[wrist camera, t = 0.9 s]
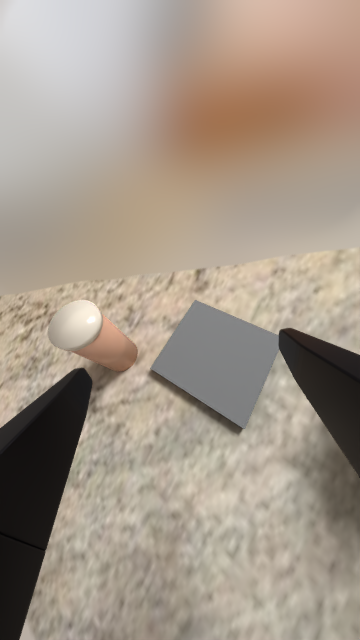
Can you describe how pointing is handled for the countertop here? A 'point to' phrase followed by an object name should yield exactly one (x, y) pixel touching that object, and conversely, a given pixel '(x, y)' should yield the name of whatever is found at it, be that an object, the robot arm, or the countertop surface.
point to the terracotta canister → (91, 336)
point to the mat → (219, 360)
